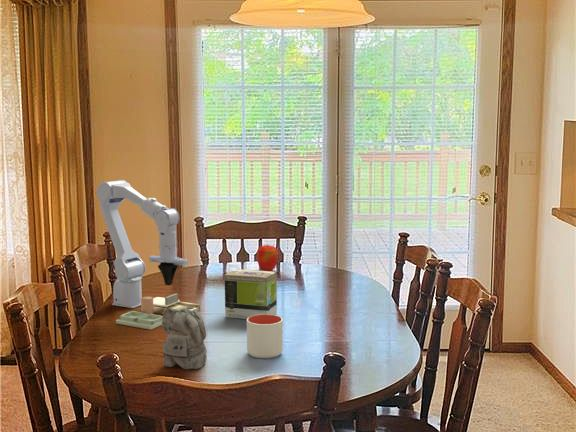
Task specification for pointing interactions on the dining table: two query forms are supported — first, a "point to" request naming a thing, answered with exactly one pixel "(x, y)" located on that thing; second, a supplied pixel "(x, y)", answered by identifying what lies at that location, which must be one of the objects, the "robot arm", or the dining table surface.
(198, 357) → the figurine
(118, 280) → the robot arm
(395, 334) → the dining table surface
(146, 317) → the socket board
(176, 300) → the lid
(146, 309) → the peg
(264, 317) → the cup
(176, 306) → the plate
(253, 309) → the tea box
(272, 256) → the apple
